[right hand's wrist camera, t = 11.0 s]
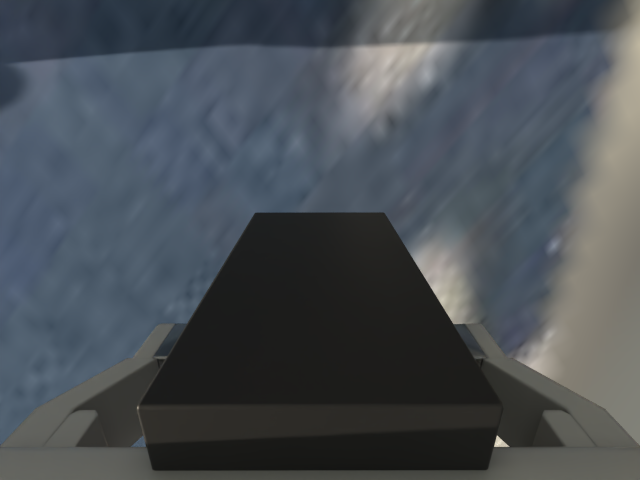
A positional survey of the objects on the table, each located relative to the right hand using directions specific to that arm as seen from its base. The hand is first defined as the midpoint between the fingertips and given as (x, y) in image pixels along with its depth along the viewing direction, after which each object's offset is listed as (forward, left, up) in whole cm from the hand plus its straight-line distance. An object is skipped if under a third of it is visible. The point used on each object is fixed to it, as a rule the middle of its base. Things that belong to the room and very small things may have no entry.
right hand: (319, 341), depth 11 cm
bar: (+8, 0, -4) cm, 9 cm away
